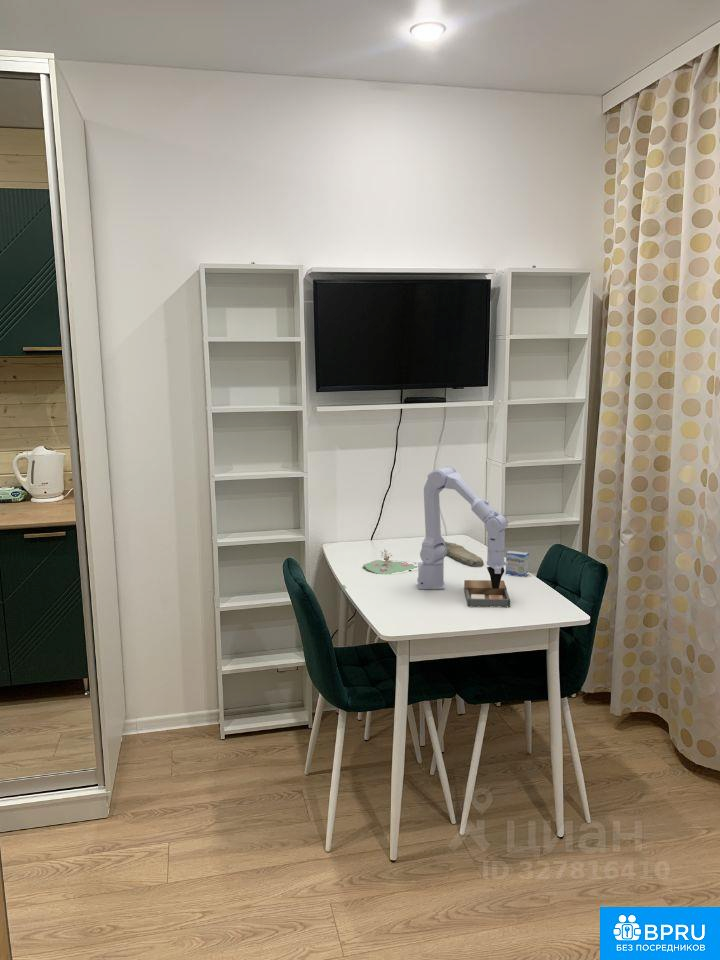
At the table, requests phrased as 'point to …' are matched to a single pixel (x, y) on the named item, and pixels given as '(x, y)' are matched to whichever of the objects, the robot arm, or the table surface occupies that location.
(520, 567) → the medicine box
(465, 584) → the walnut board
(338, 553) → the table surface
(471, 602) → the bin
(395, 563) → the plant
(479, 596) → the cream tile
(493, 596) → the terracotta tile
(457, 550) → the elongated rock
